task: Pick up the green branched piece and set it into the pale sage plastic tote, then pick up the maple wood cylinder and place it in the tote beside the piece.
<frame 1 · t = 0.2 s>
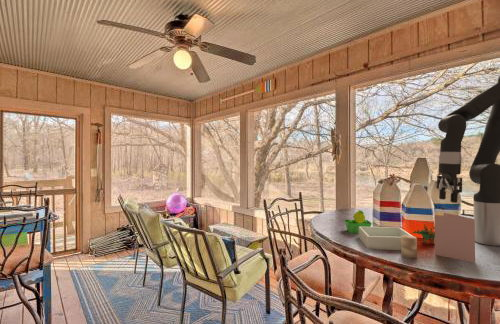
hand: (447, 200, 111), 18 cm above the table, tool pointing down, fingers open, 8 cm apart
maple cylinder: (409, 255, 97), on the table
tote: (384, 243, 112), on the table
green branched piece: (426, 243, 111), on the table
greeting card: (452, 257, 95), on the table
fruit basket: (358, 232, 130), on the table
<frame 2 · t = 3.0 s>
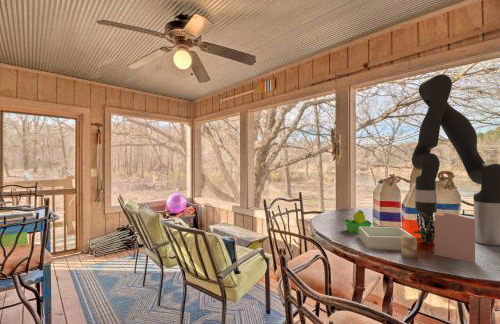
hand: (426, 240, 111), 1 cm above the table, tool pointing down, fingers closed on green branched piece, 3 cm apart
green branched piece: (426, 243, 111), on the table, touching gripper
everything else where it was.
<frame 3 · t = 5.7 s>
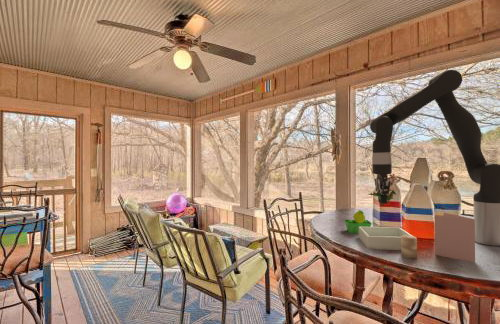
hand: (382, 202, 114), 17 cm above the table, tool pointing down, fingers closed on green branched piece, 3 cm apart
green branched piece: (382, 205, 114), point 16 cm above the table, touching gripper
everything else where it was.
when the fingers open (5 cm above the table, at t = 8.2 s): green branched piece drops 3 cm, resting on tote.
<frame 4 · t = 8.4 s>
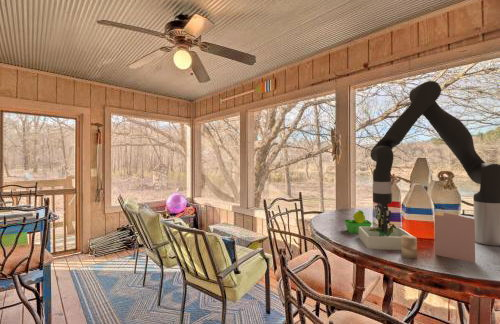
hand: (382, 230, 114), 5 cm above the table, tool pointing down, fingers open, 4 cm apart
green branched piece: (382, 239, 114), point 1 cm above the table, touching gripper, tote
everything else where it was.
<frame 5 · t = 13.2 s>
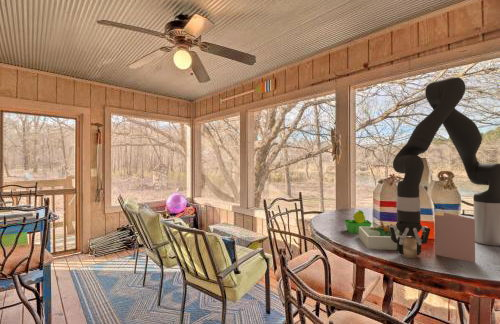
hand: (409, 253, 97), 1 cm above the table, tool pointing down, fingers closed on maple cylinder, 5 cm apart
maple cylinder: (409, 255, 97), on the table, touching gripper
green branched piece: (383, 240, 114), point 1 cm above the table, touching tote
everything else where it was.
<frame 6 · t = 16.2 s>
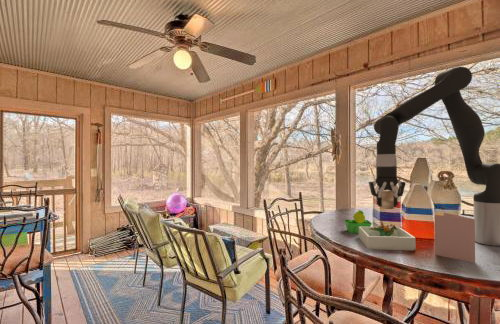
hand: (387, 206, 108), 17 cm above the table, tool pointing down, fingers closed on maple cylinder, 5 cm apart
maple cylinder: (386, 208, 108), point 16 cm above the table, touching gripper
everything else where it was.
when the fingers open (3 cm above the table, at t = 18.9 s): maple cylinder drops 2 cm, resting on tote.
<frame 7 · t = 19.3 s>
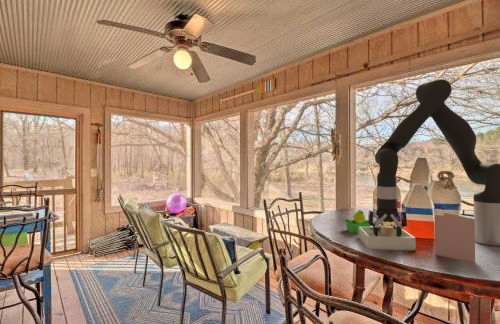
hand: (387, 236, 109), 4 cm above the table, tool pointing down, fingers open, 8 cm apart
maple cylinder: (387, 243, 109), point 1 cm above the table, touching tote
everything else where it was.
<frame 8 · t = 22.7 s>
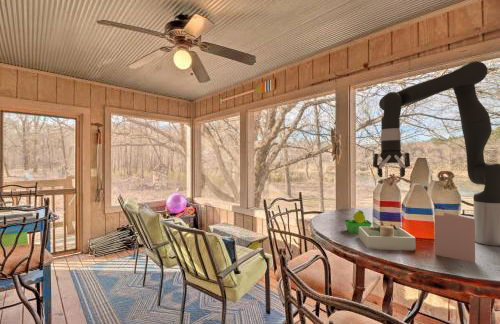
hand: (391, 177, 114), 28 cm above the table, tool pointing down, fingers open, 8 cm apart
nothing on the table moved.
at the end: green branched piece inside the target area on the tote (2.4 cm from its centre), point 0.6 cm above the tote's base; maple cylinder inside the target area on the tote (3.3 cm from its centre), point 0.8 cm above the tote's base; the gripper is holding nothing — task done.
